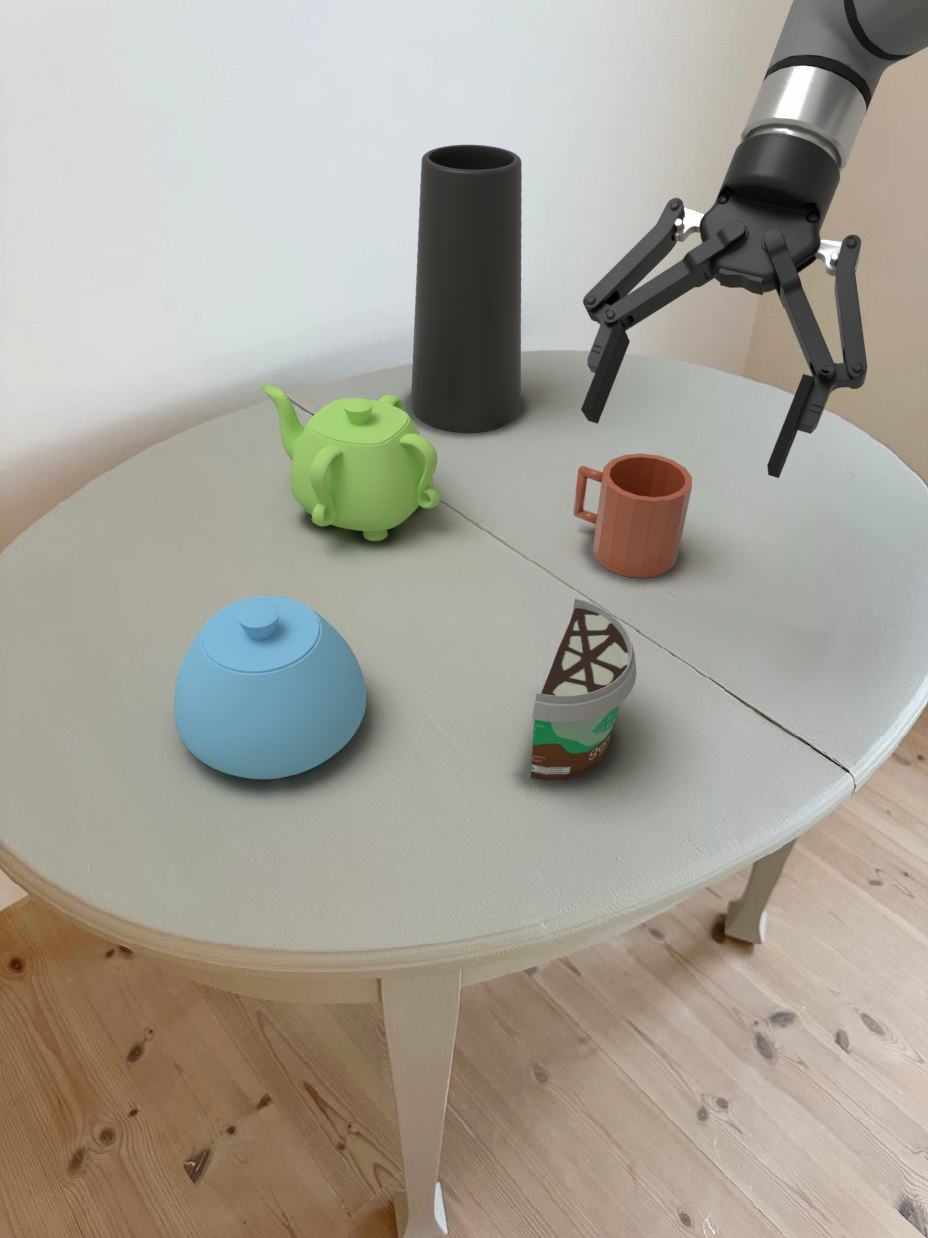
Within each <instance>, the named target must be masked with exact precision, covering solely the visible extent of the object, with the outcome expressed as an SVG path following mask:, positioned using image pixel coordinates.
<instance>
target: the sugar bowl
mask: <svg viewBox="0 0 928 1238" xmlns="http://www.w3.org/2000/svg"><path fill="white" fill-rule="evenodd" d="M366 708H367V687H366V683H365V677H364V674H363V671H362V669H361V666H360V664H359V661H358V659H357V656H356V654H355V653H354V651H353V650H352V648H351V646H350V645H349V644H348V642H347V640H346V639H345V638H344V637H343V636H342V634H341V633H340V632H339V631H338V630H337V629H336V628H335V627H334V626H333V624H331V623H330V622H328V620H326V619H325V617H323V616H322V615H321V614H320V613H318V612H317V611H316V610H315V609H313V608H312V607H310V606H308V605H307V604H306V603H303V602H301V601H299V600H296V599H293V598H290V597H287V596H286V597H285V596H279V595H257V596H250V597H245V598H243V599H239V600H237V601H234V602H232V603H230V604H228V605H226V606H223V607H222V608H221V609H219V610H218V611H216V612H215V613H214V614H213V615H212V616H211V617H209V619H208V620H207V621H206V622H205V624H204V625H203V626H202V627H201V629H200V630H199V632H198V633H197V635H196V637H195V638H194V639H193V641H192V643H191V645H190V646H189V648H188V650H187V651H186V653H185V656H184V658H183V659H182V662H181V665H180V667H179V670H178V674H177V677H176V682H175V686H174V694H173V715H174V721H175V726H176V730H177V733H178V735H179V738H180V739H181V741H182V743H183V745H184V746H185V747H186V748H187V749H188V751H190V753H191V754H192V755H193V756H194V757H195V758H197V759H198V760H199V761H200V762H201V763H203V764H205V765H207V766H209V767H210V768H212V769H214V770H217V771H219V772H222V773H224V774H227V775H231V776H233V777H239V778H245V779H251V780H276V779H282V778H287V777H291V776H292V777H293V776H296V775H299V774H302V773H305V772H307V771H309V770H312V769H313V768H315V767H318V766H319V765H321V764H323V763H324V762H326V761H328V760H330V759H331V758H332V757H333V756H334V755H336V754H337V753H338V752H340V751H341V750H342V749H343V748H344V747H345V746H346V745H347V744H348V743H349V742H350V740H351V739H352V738H353V737H354V736H355V734H356V733H357V730H358V729H359V727H360V725H361V723H362V721H363V718H364V717H365V716H364V715H365V712H366Z"/></svg>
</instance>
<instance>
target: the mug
mask: <svg viewBox="0 0 928 1238" xmlns="http://www.w3.org/2000/svg"><path fill="white" fill-rule="evenodd" d="M588 479H590V480H592V481H595V482H598V483H600V484H601V485H600V491H599V499H598V507H597V513H595V512H592V511H589V510H586V509H584V508H585V500H586V494H587V485H588ZM692 488H693V477H692V474H691V473H690V472H689V471H688V469H687V467H685V466H683V465H682V464H680V463H678V462H677V461H675V460H674V459H671V458H667V457H666V456H662V455H659V454H658V455H657V454H650V453H629V454H623V455H621V456H618V457H617V456H616V457H615V458H612V459H611V460H609V461H608V462H607V463H606V464H605V465H604V466H603V469H602V471H600V470H598V469H595V468H592V467H588V466H586V465H581V466H579V467H578V468H577V476H576V486H575V495H574V502H573V512H572V514H573V516H574V517H575V518H577V519H579V520H583V521H586V522H588V523H590V524H592V525H593V524H594V525H595V529H594V536H593V544H592V546H593V547H592V552H593V555H594V558H595V560H596V561H597V563H599V564H600V565H601V566H602V567H604V568H605V569H606V570H608V571H609V572H612V573H614V574H616V575H620V576H623V577H627V578H628V577H629V578H633V579H636V578H637V579H646V578H647V579H648V578H655V577H659V576H661V575H664V574H666V573H668V572H669V571H671V570H672V568H674V566H675V565H676V562H677V559H678V557H679V551H680V547H681V543H682V538H683V537H682V536H683V533H684V528H685V523H686V518H687V513H688V508H689V504H690V503H689V502H690V499H691V493H692Z"/></svg>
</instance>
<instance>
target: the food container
mask: <svg viewBox="0 0 928 1238" xmlns="http://www.w3.org/2000/svg"><path fill="white" fill-rule="evenodd" d="M548 672H549V673H548V675H547V677H546V680H545V682H544V684H543V687H542V690H541V692H536V693H535V701H534V704H533V712H532V718H531V719H532V720H533V735H532V750H531V763H530V764H531V765H530V778H533V779H539V780H542V781H566V780H569V779H573V778H577V777H581V776H584V775H586V774H587V773H589V772H590V771H592V770H593V769H595V768H596V767H598V766H599V764H600V763H601V762H602V760H603V759H604V757H605V756H606V753H607V751H608V747H609V742H610V740H611V736H612V733H613V729H614V726H615V723H616V719H617V716H618V712H619V709H620V705H621V704H622V703H623V702H624V701H625V700H626V699H627V698H628V697H629V695H630V694H631V693H632V690H633V689H634V686H635V684H636V681H637V679H636V678H637V662H636V652H635V649H634V645H633V641H631V637H630V635H629V633H628V631H627V629H626V627H624V625H623V624H622V623H621V621H619V620H618V619H617V618H616V617H615V616H614V615H612V614H611V613H610V612H608V611H607V610H606V609H604V608H602V607H600V606H599V605H597V604H594V603H591V602H589V601H586V600H583V599H580V598H574V601H573V608H572V613H571V618H570V620H569V623H568V625H567V627H566V630H565V633H564V634H563V637H562V639H561V641H560V644H559V646H558V649H557V651H556V653H555V656H554V659H553V662H552V664H551V667H550V669H549V671H548Z"/></svg>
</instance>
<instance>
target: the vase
mask: <svg viewBox="0 0 928 1238" xmlns="http://www.w3.org/2000/svg"><path fill="white" fill-rule="evenodd" d="M522 164H523V163H522V159H521V157H520V155H518V154H517V153H515V152H513V151H511V150H509V149H505V148H501V147H497V146H493V145H492V146H491V145H483V144H454V145H452V144H451V145H446V146H440V147H436V148H433V149H431V150H429V151H427V152H425V153H424V154H423V156H422V157H421V166H420V167H421V168H420V185H419V207H418V231H417V251H416V252H417V253H416V276H415V295H414V297H415V299H414V300H415V301H414V302H415V303H414V304H415V305H414V318H413V319H414V325H413V346H412V364H411V365H412V366H411V367H412V369H411V371H412V372H411V373H412V374H411V395H410V405H411V410H412V413H413V415H414V416H415V417H416V418H417V419H418V420H420V421H421V422H423V423H424V424H426V425H428V426H431V427H433V428H436V429H439V430H443V431H448V432H454V433H481V432H488V431H492V430H497V429H499V428H502V427H504V426H507V425H508V424H510V423H512V422H513V421H514V420H515V419H516V418H517V417H518V416H519V414H520V412H521V401H522V399H521V398H522V397H521V394H522V393H521V392H522V388H521V387H522V382H521V381H522V226H523V224H522V222H523V221H522V213H523V211H522V210H523V209H522V202H523V201H522V200H523V199H522V192H523V191H522V190H523V188H522V183H523V182H522V181H523V180H522V179H523V175H522V171H523V170H522V167H523V166H522Z"/></svg>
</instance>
